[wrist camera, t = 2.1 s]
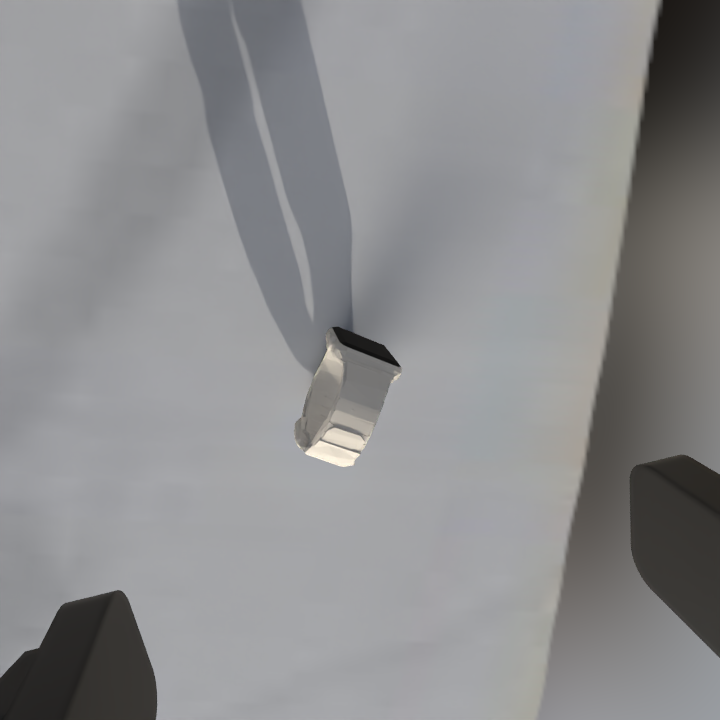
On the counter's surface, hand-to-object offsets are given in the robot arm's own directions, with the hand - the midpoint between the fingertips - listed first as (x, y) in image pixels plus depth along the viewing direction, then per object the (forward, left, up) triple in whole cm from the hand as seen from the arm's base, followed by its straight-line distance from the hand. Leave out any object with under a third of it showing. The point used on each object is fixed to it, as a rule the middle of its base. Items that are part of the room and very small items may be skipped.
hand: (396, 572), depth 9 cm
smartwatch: (0, 0, -10) cm, 10 cm away
